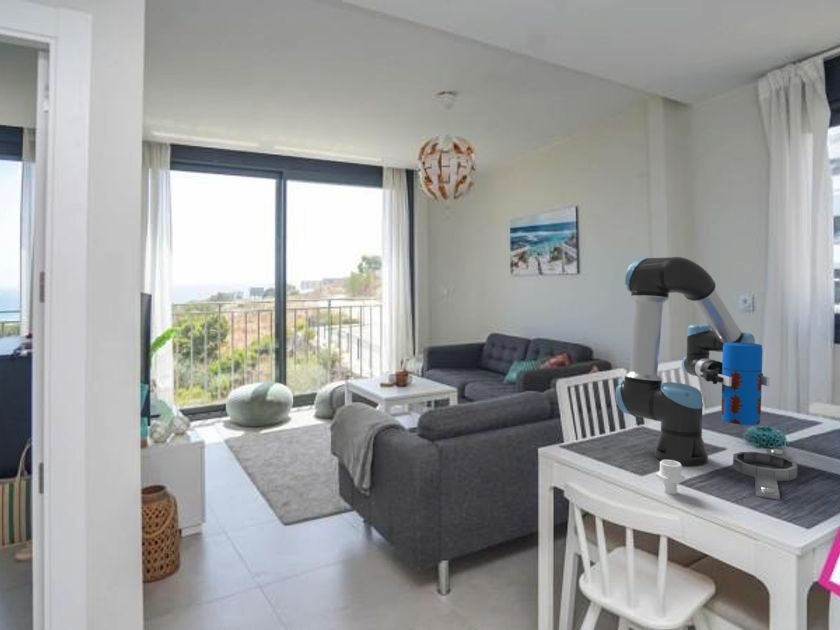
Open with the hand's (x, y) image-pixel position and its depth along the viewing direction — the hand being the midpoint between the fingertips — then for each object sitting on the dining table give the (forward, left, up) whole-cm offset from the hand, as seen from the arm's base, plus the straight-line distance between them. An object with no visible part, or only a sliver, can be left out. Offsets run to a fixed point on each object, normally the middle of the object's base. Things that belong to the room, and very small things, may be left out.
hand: (749, 381), depth 159 cm
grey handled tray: (+4, -12, -24) cm, 27 cm away
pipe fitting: (-18, -41, -25) cm, 51 cm away
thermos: (-2, +3, -14) cm, 14 cm away
